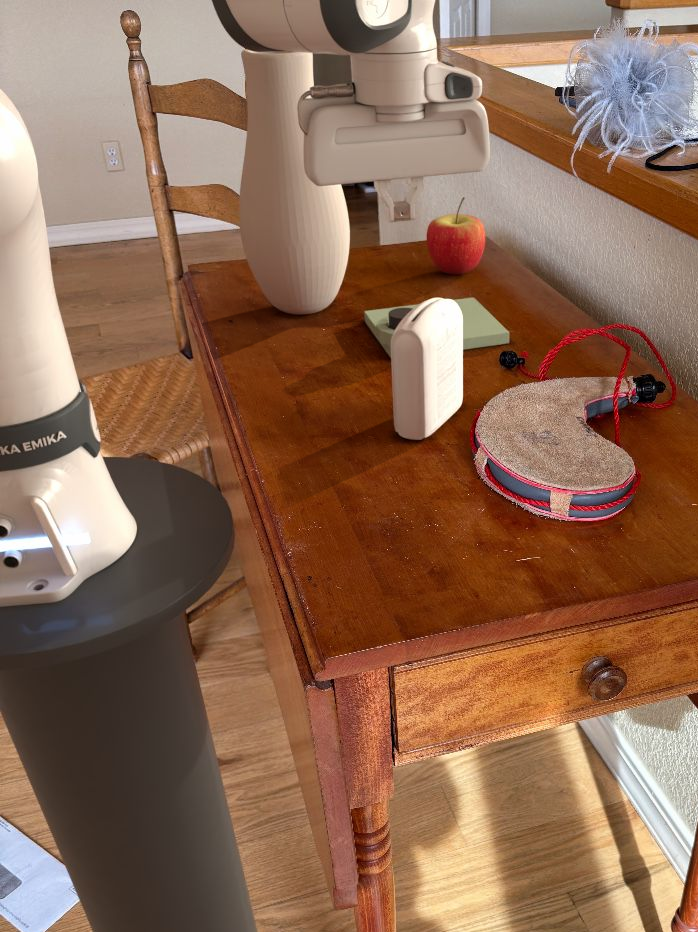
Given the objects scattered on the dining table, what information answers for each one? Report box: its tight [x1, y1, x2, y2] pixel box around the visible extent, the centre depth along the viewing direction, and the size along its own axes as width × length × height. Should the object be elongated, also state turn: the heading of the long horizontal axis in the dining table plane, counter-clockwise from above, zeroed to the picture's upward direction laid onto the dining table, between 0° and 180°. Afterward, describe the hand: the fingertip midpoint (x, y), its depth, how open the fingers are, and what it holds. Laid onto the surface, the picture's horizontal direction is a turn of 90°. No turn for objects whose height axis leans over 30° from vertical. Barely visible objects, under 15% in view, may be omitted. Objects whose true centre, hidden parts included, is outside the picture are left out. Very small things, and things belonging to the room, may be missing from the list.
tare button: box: [389, 308, 412, 330], centre depth 111 cm, size 4×4×2 cm
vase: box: [238, 48, 351, 316], centre depth 115 cm, size 14×14×30 cm
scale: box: [363, 297, 510, 359], centre depth 116 cm, size 16×13×3 cm
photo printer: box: [390, 297, 464, 441], centre depth 94 cm, size 10×4×12 cm, turn 155°
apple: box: [426, 196, 486, 276], centre depth 132 cm, size 8×8×10 cm
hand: (400, 220), depth 104 cm, fingers closed
